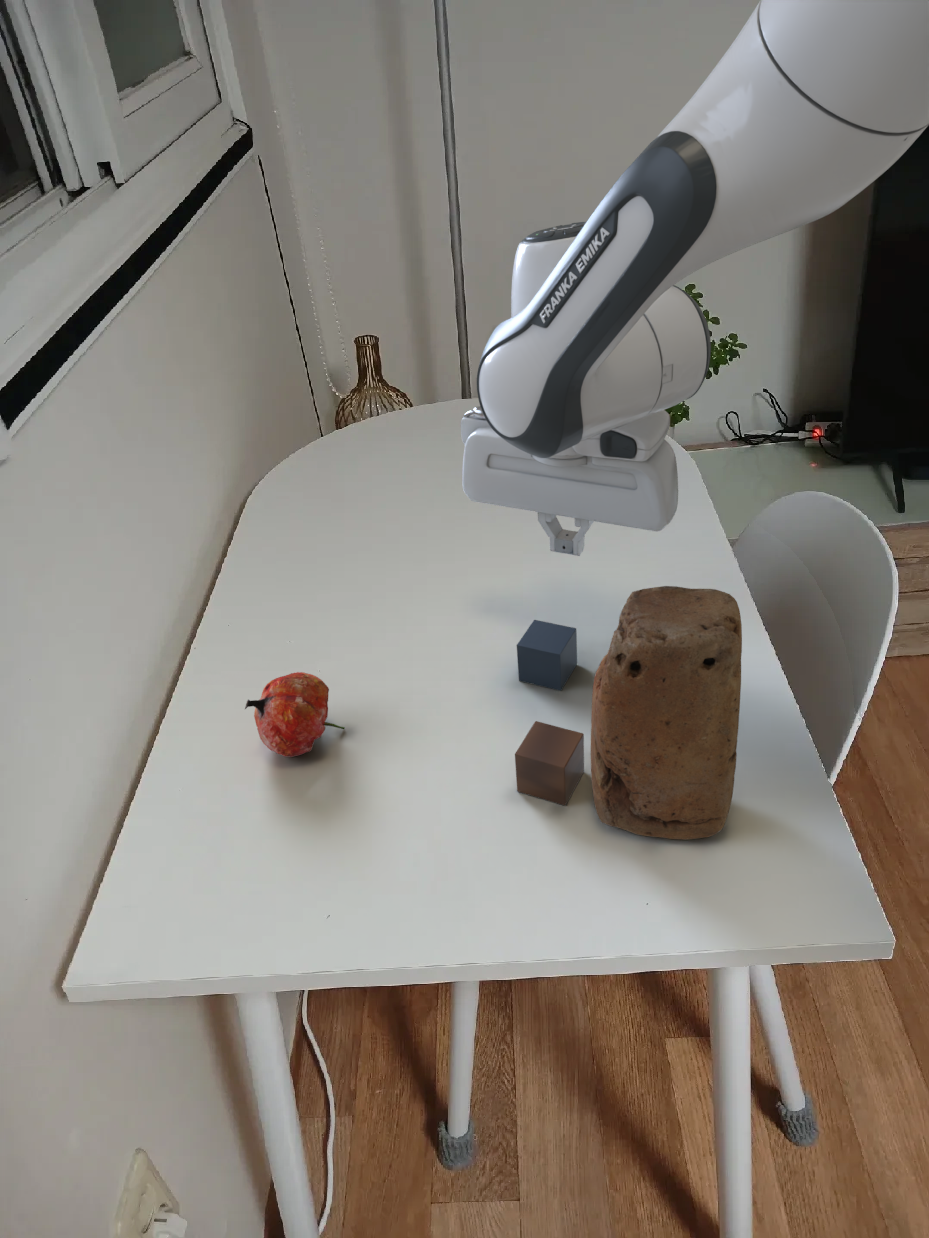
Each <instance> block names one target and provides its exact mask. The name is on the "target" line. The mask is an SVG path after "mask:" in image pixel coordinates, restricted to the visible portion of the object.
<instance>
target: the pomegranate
mask: <svg viewBox="0 0 929 1238" xmlns="http://www.w3.org/2000/svg"><path fill="white" fill-rule="evenodd" d="M329 692H330V688H329V686H328V685H327V684H326V683H325V682H324V681H323V679H321V678H320V677H318V676H317V675H314V674H311V673H309V672H307V673H306V672H303V671H301V672H300V671H297V672H291V673H289V674H286V675H283V676H278V677H275V678H274V679H272V680H270V681H269V682H268V683H266V685H265V686H264V687H263V689H262V692H261V697H260V698H259V699H258V700H257V699H254V700H250V699H247V700H246V703H245V706H244V710H247V708H249V707H250V708H251V707H254V712H253V713H254V714H253V717H254V721H255V726H256V727H257V732H258V735H259V739H260V740H261V742H262V743H263V745H265V747H266V748H268V749H269V750H270V751H272V752H274V753H276V754H278V755H281V756H283V757H287V758H292V757H297V756H301V755H303V754H306V753H309V752H311V751H312V749H313V746H314V743H315V740H318V739H320V738H321V737H322V736H323V734H324V732H325V730H326V727H333V728H337V729H341V730H345V728H346V727H345V726H340V725H338V724H336V723H331V722H328V721H326V720H327V718H328V715H329V713H328V712H329V706H328V705H329V704H328V702H329Z"/></svg>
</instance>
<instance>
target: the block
mask: <svg viewBox="0 0 929 1238" xmlns="http://www.w3.org/2000/svg"><path fill="white" fill-rule="evenodd" d="M742 625H743V624H742V618H741V611H740V607H739V603H738V601H737V600H736V598H735V597H734V596H733V595H731V593H728V592H725V591H722V590H718V589H715V588H690V587H683V586H677V585H675V586H674V585H662V586H654V587H648V588H647V587H646V588H642V589H638V590H634V591H632V592H631V593H630V594H629V596H628V597H627V599H626V603H625V604H624V606H623V608H622V610H621V612H620V614H619V618H618V625H617V627H616V629H615V630H614V631H613V634H612V638H611V641H610V645H609V649H608V650H607V653H606V654H605V655H604V656H603V658H602V659H601V661H600V663H599V665H598V667H597V669H596V672H595V674H594V677H593V683H592V694H591V718H590V724H591V725H590V726H591V727H590V777H591V787H592V789H591V790H592V796H593V803H594V807H595V811H596V814H597V817H598V820H600V822H601V823H602V824H605V825H606V826H609V827H613V828H618V829H620V830H624V831H627V832H630V833H633V834H634V835H639V836H643V837H651V838H652V837H653V838H661V839H662V838H664V839H669V840H694V839H704V838H709V837H712V836H715V835H717V834H718V833H719V832H721V831H722V830H723V828H724V827H725V824H726V822H727V818H728V816H729V812H730V809H731V804H732V800H733V795H734V794H733V793H734V788H735V787H734V786H735V775H736V774H735V773H736V768H737V758H738V757H737V755H738V754H737V747H738V737H739V736H738V735H739V725H740V724H739V723H740V708H741V705H740V704H741V689H742V653H743V627H742Z"/></svg>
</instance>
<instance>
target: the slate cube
mask: <svg viewBox="0 0 929 1238" xmlns="http://www.w3.org/2000/svg"><path fill="white" fill-rule="evenodd" d="M577 633H578V632H577V628H576V627H572V626H568V625H564V624H557V623H553V622H548V621H544V620H538V619H533V621H532V622H531V624H529V626H528V628H527V629H526V631H525V632H524V634H523V635H522V637H521V638H520V639H519V641H518V642H517V643H516V656H517V671H518V672H517V674H518V682H523V683H527V684H531V685H534V686H539V687H544V688H547V689H552V690H556V691H562V690H563V688H564V687H565V685H566V683H567V681H568V680H569V678H570V677H571V675H572V673H573V671H574V670H575V668H576V667H577V665H578V644H577V643H578V642H577V641H578V640H577V639H578V636H577Z"/></svg>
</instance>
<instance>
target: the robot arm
mask: <svg viewBox="0 0 929 1238" xmlns="http://www.w3.org/2000/svg"><path fill="white" fill-rule="evenodd" d="M928 127H929V0H759V2H758V3H757V5H756V7H755V8H754V9H753V11H752V13H751V14H750V15H749V17H748V19H747V21H746V22H745V24H744V25H743V27H742V28H741V30H740V31H739V33H738V34H737V36H736V38H735V39H734V40H733V41H732V43H731V45H729V48H728V49H727V50H726V51H725V53H724V54H723V55H722V57H721V58H720V60H718V62H717V63H716V65H715V66H714V67H713V69H712V71H710V73H709V74H708V76H707V77H706V78H705V80H704V81H703V82H702V84H700V86H699V87H698V89H697V90H696V91H695V92H694V94H693V95H692V96H691V98H690V99H689V100H688V101H687V102H686V103H685V104H684V105H683V107H682V108H681V109H680V110H679V111H678V113H677V114H676V115H675V116H674V117H673V118H672V120H670V121H669V123H668V124H667V125H665V127H664V128H663V129H662V130H661V131H660V133H659V134H658V135H657V136H656V137H655V138H654V139H653V140H652V141H651V142H650V143H649V144H648V145H647V146H646V147H645V148H644V149H643V150H642V152H641V153H639V155H638V156H637V158H635V159H634V161H632V163H630V165H629V166H628V167H627V168H626V169H625V170H624V172H622V174H621V175H620V176H619V177H618V179H617V180H615V183H614V184H613V185H612V186H611V188H610V189H609V190H608V192H607V193H606V194H605V196H603V198H602V199H601V201H600V202H599V203H598V204H597V206H596V208H595V209H594V211H593V212H592V213H591V215H590V216H589V218H588V219H587V221H580V222H572V223H569V224H560V225H556V226H552V227H548V228H543V229H539V230H537V231H533V232H531V233H530V234H529V235H527V236H525V238H523V239H522V240H520V242H519V243H518V245H517V248H516V251H515V256H514V260H513V267H512V274H511V276H512V277H511V295H510V309H511V310H510V318H508V319H505V320H503V321H502V322H500V323H499V324H498V325H496V326H495V328H494V329H493V331H492V333H491V334H490V335H489V338H488V340H487V342H486V344H485V347H484V349H483V351H482V354H481V357H480V360H479V364H478V368H477V372H476V393H477V398H478V403H479V406H478V405H477V406H475V407H474V408H473V409H470V410H468V411H467V412H465V413H464V414H463V416H462V417H461V420H460V437H461V442H462V444H463V445H464V449H463V450H464V451H463V457H462V473H461V475H462V476H461V477H462V483H461V484H462V490H463V493H464V494H465V496H466V497H467V498H468V499H469V500H470V501H471V502H474V503H479V504H487V505H491V506H492V505H494V506H499V507H505V508H511V509H517V510H524V511H529V512H536V513H537V521H538V523H539V524H540V526H541V528H542V529H543V531H544V532H545V534H546V536H547V537H548V538H549V551H550V552H552V553H553V552H554V553H559V554H566V555H570V556H571V555H572V556H575V557H580V556H581V554H582V553H583V552H584V549H585V541H586V540H585V539H586V538H585V535H586V534H587V532H588V531H589V529H591V526H592V525H593V524H594V522H596V523H602V524H608V525H614V526H619V527H627V528H632V529H638V530H645V531H649V532H661V531H662V530H664V529H665V528H666V527H667V526H668V525H669V524H670V523H671V522H672V520H673V519H674V517H675V515H676V512H677V510H678V504H679V476H678V475H679V473H678V465H677V464H678V463H677V457H676V453H675V451H674V448H673V447H672V445H671V444H670V443H669V441H667V440H666V437H667V435H668V432H669V430H670V425H671V416H670V414H669V412H668V411H666V410H668V409H670V408H672V407H675V406H677V405H679V404H681V403H683V402H685V401H687V400H690V399H691V398H693V397H694V396H695V395H696V394H697V393H698V392H699V390H700V389H701V387H702V385H703V384H704V382H705V380H706V377H707V374H708V371H709V367H710V363H711V356H712V355H711V352H712V343H711V334H710V333H711V332H710V329H709V328H710V327H709V325H708V322H707V319H706V316H705V314H704V312H703V309H701V306H700V305H699V304H698V303H697V301H696V300H695V299H694V298H693V297H692V296H691V295H690V294H689V293H688V292H686V291H685V290H684V289H682V288H680V287H678V286H676V284H677V283H679V282H680V281H682V280H683V279H684V278H687V277H688V276H690V275H691V274H693V273H695V272H696V271H697V272H698V271H699V270H700V269H702V268H704V267H707V266H708V265H710V264H712V263H715V262H717V261H719V260H721V259H723V258H725V257H727V256H730V255H732V254H734V253H736V252H739V251H741V250H744V249H746V248H749V247H751V246H754V245H756V244H759V243H761V242H765V241H767V240H770V239H772V238H775V237H777V236H780V235H783V234H786V233H788V232H791V231H793V230H796V229H798V228H801V227H803V226H806V225H808V224H810V223H813V222H816V221H818V220H820V219H822V218H824V217H826V216H828V215H830V214H832V213H834V212H836V211H837V210H839V209H840V208H841V207H844V206H845V205H846V204H847V203H848V202H850V201H851V200H852V199H853V198H854V197H856V196H857V195H859V194H860V193H861V192H863V191H864V190H865V189H866V188H868V187H869V186H870V185H871V184H872V183H873V182H875V181H876V180H878V178H879V177H881V176H882V175H883V174H884V173H885V172H886V171H887V170H889V169H890V168H891V167H892V166H893V165H894V164H895V163H896V162H897V161H899V159H900V158H901V157H902V156H903V155H904V154H905V153H906V152H907V150H909V148H910V147H911V146H912V145H913V144H914V143H915V141H916V140H918V138H919V137H920V136H921V135H922V134H923V132H924V131H925V130H926V129H927V128H928ZM558 516H559V517H565V518H571V519H574V527H575V528H579V530H578V531H576V530H570V529H564V528H563V527H562V525H561V524H560V521H559V519H558Z"/></svg>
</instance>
